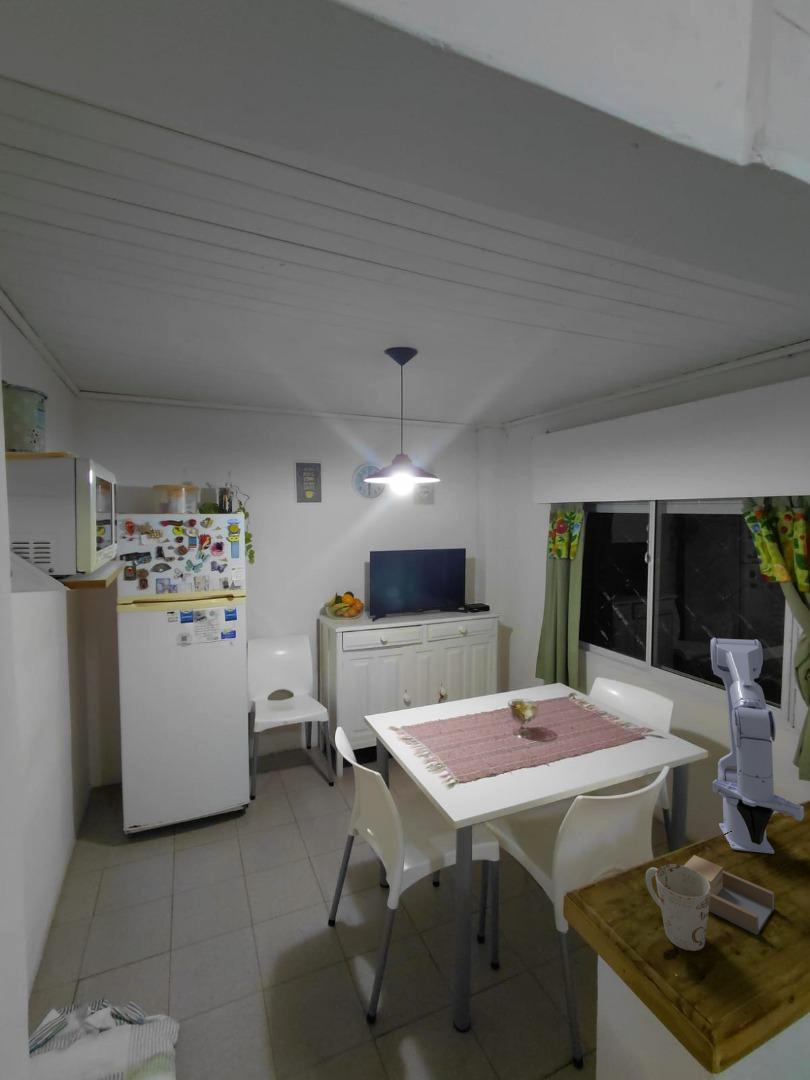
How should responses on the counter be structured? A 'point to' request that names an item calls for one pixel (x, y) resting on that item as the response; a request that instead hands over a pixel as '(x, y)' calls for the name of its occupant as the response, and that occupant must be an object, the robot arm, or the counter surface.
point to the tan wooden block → (708, 872)
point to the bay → (742, 903)
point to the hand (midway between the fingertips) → (757, 841)
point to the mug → (682, 904)
